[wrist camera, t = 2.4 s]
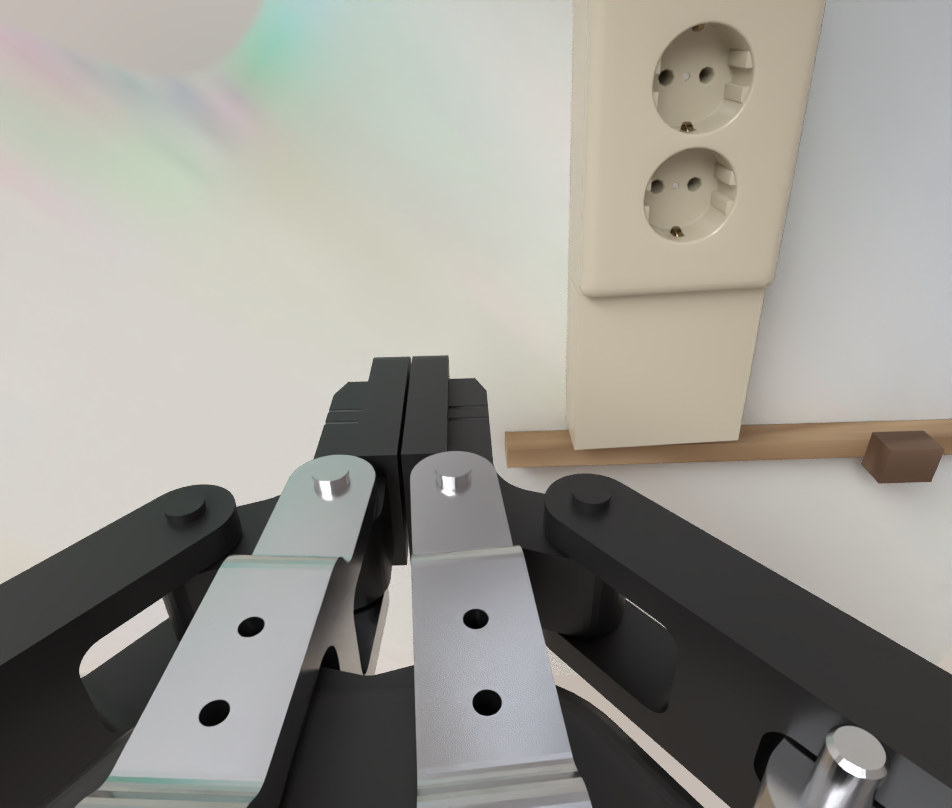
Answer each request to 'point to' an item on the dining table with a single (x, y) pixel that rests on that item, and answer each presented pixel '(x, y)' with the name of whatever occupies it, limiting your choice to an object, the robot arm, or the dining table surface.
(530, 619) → the robot arm
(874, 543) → the dining table surface
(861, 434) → the brown flat piece
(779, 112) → the electrical outlet
